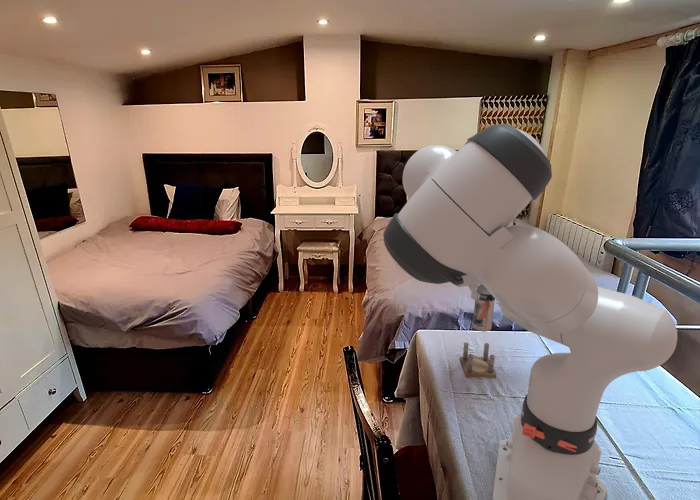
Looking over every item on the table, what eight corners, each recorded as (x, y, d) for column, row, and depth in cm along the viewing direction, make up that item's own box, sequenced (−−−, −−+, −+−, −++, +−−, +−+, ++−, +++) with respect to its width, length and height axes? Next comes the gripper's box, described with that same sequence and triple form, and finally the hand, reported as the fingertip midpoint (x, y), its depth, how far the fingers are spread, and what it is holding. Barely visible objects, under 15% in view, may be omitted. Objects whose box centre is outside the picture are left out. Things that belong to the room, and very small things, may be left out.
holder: (496, 378, 99) (498, 358, 97) (465, 377, 100) (467, 357, 98) (488, 360, 107) (490, 342, 105) (459, 359, 107) (461, 341, 105)
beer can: (468, 325, 101) (472, 285, 97) (482, 322, 102) (486, 282, 99) (481, 334, 96) (485, 292, 93) (495, 330, 98) (500, 288, 95)
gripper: (517, 239, 98) (511, 287, 102) (448, 246, 93) (444, 297, 97) (534, 245, 92) (527, 296, 96) (462, 253, 87) (458, 307, 91)
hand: (485, 297), depth 96 cm, fingers closed on beer can, 5 cm apart
